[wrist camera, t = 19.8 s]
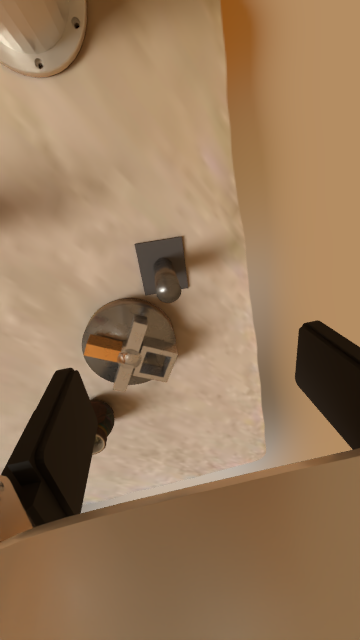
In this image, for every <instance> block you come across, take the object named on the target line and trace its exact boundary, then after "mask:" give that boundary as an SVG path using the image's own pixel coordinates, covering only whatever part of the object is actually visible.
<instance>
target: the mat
mask: <svg viewBox="0 0 360 640" xmlns="http://www.w3.org/2000/svg"><path fill="white" fill-rule="evenodd" d="M135 248H136V253H137V257H138V262H139V267H140V272H141V277H142V281H143V286H144V291H145V295H151V294H156V287H155V278H154V268H153V267H154V263H155V262H156V261H157V260H158V259H160V258H166V259H169V260H170V261H171V263H172V265H173V267H174V270H175V273H176V276H177V279H178V281H179V284H180V287H181V289H185V288H188V283H187V275H186V267H185V259H184V251H183V243H182V237H176V238H170V239H163V240H157V241H151V242H145V243H139V244H135Z"/></svg>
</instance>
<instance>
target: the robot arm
mask: <svg viewBox="0 0 360 640" xmlns="http://www.w3.org/2000/svg"><path fill="white" fill-rule="evenodd" d="M86 24H87V4H86V0H0V63H1V64H3V65H5V66H6V67H8V68H9V69H11V70H13V71H15V72H18V73H20V74H23V75H26V76H31V77H49V76H52V75H55V74H58V73H59V72H61V71H63V70H64V69H66V68H67V67H68V66H69V65H70V64H71V63H72V62H73V60H74V59H75V58H76V56H77V54H78V52H79V51H80V49H81V46H82V43H83V40H84V37H85V31H86ZM77 25H78V26H79V28H78V29H75V27H76V26H77ZM40 65H43V68H42V69H40ZM295 380H296V383H297V385H298V386H299V387H300V389H301V390H302V391H303V392H304V393H305V394H306V396H307V397H308V398H309V399H310V400H311V401H312V403H313V404H314V405H315V406H316V407H317V408H318V410H319V411H320V412H321V413H322V414H323V415H324V417H325V418H326V419H327V420H328V421H329V422H330V424H331V425H332V426H333V427H334V428H335V429H336V430H337V432H338V433H339V434H340V435H341V436H342V437H343V439H344V440H345V441H346V442H347V443H348V444H349V446H350V447H351V448H352V449H353V450H350V451H346V452H341V453H337V454H332V455H328V456H323V457H319V458H314V459H310V460H306V461H301V462H296V463H292V464H287V465H283V466H279V467H274V468H270V469H266V470H261V471H257V472H253V473H248V474H244V475H240V476H235V477H231V478H227V479H222V480H218V481H214V482H209V483H205V484H201V485H197V486H192V487H188V488H184V489H180V490H175V491H171V492H167V493H163V494H158V495H154V496H150V497H146V498H141V499H137V500H133V501H128V502H124V503H120V504H116V505H113V506H109V507H104V508H100V509H97V510H93V511H89V512H85V513H81V508H82V503H83V498H84V493H85V488H86V483H87V478H88V473H89V468H90V463H91V458H92V453H93V448H94V443H95V438H96V433H97V427H98V421H97V417H96V415H95V412H94V410H93V407H92V404H91V402H90V399H89V397H88V394H87V392H86V389H85V386H84V384H83V381H82V379H81V376H80V374H79V372H78V371H77V370H76V371H74V370H73V368H67V369H62V370H57V371H56V372H55V373H54V375H53V377H52V379H51V381H50V383H49V385H48V387H47V389H46V391H45V393H44V394H43V396H42V398H41V400H40V402H39V404H38V406H37V408H36V410H35V411H34V412H33V414H32V416H31V418H30V420H29V422H28V424H27V426H26V428H25V430H24V432H23V433H22V435H21V437H20V439H19V441H18V443H17V445H16V447H15V449H14V451H13V453H12V455H11V457H10V458H9V460H8V462H7V464H6V466H5V468H4V470H3V472H2V474H1V475H0V640H360V347H359V346H357V345H355V344H354V343H352V342H351V341H349V340H348V339H346V338H345V337H343V336H342V335H340V334H339V333H337V332H336V331H334V330H333V329H331V328H330V327H328V326H326V325H325V324H323V323H322V322H320V321H313V322H307V323H304V324H303V326H302V327H301V328H300V329H299V336H298V348H297V360H296V373H295ZM80 513H81V514H80Z"/></svg>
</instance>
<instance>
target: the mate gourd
mask: <svg viewBox="0 0 360 640" xmlns="http://www.w3.org/2000/svg"><path fill="white" fill-rule="evenodd" d="M90 402H91V404H92V407H93V410H94V412H95V415H96V417H97V421H98V427H97V433H96V438H95V443H94V448H93V453H92V455H94V454H97V453H99V452H101V451H102V450H103V449H104V448H105V446H106V441H107V436H108V435H109V434H110V432H111V431H112V428H113V426H114V414H113V410H112V408H111V407H110V406H109V405H108V404H107V403H105V402H102V401H98V400H93V401H90Z"/></svg>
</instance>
